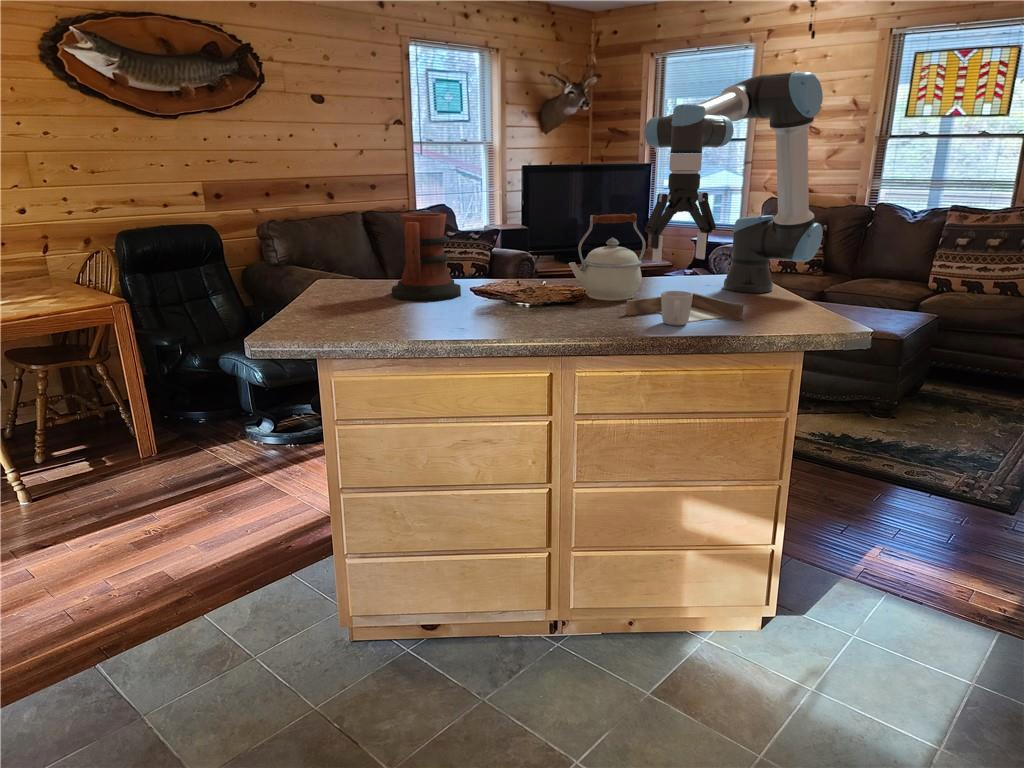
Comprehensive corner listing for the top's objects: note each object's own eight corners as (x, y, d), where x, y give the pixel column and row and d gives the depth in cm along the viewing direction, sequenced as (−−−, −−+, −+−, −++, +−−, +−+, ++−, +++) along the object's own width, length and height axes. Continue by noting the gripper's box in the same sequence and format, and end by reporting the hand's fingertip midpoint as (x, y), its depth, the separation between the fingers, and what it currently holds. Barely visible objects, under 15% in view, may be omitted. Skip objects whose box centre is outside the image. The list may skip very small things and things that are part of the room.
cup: (691, 330, 184) (693, 299, 181) (659, 329, 185) (660, 297, 183) (690, 321, 194) (692, 291, 191) (659, 319, 195) (661, 290, 193)
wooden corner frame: (692, 306, 211) (693, 293, 210) (742, 320, 194) (743, 305, 193) (625, 314, 201) (626, 300, 200) (671, 329, 184) (672, 314, 183)
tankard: (468, 289, 238) (467, 212, 230) (449, 305, 215) (446, 219, 207) (404, 288, 242) (400, 211, 234) (377, 302, 218) (372, 218, 211)
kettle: (628, 289, 238) (632, 210, 230) (656, 299, 221) (661, 215, 214) (557, 294, 230) (558, 213, 223) (580, 305, 214) (582, 218, 206)
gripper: (714, 171, 186) (707, 255, 193) (633, 172, 176) (628, 261, 182) (735, 172, 180) (727, 259, 186) (652, 173, 169) (647, 265, 176)
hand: (678, 260), depth 184 cm, fingers open, 13 cm apart
